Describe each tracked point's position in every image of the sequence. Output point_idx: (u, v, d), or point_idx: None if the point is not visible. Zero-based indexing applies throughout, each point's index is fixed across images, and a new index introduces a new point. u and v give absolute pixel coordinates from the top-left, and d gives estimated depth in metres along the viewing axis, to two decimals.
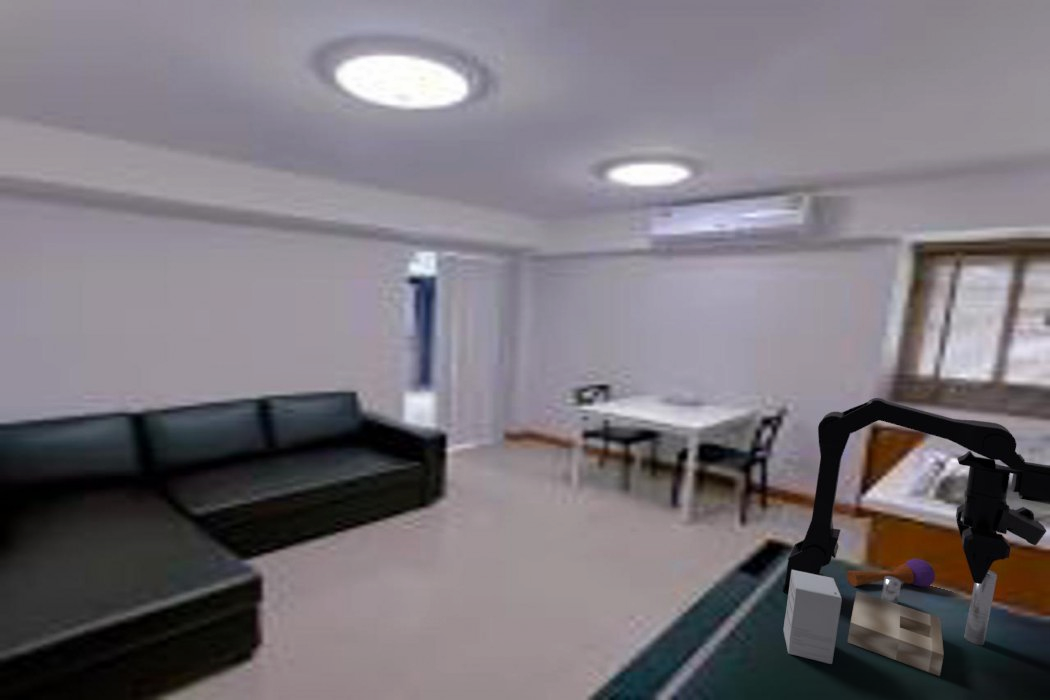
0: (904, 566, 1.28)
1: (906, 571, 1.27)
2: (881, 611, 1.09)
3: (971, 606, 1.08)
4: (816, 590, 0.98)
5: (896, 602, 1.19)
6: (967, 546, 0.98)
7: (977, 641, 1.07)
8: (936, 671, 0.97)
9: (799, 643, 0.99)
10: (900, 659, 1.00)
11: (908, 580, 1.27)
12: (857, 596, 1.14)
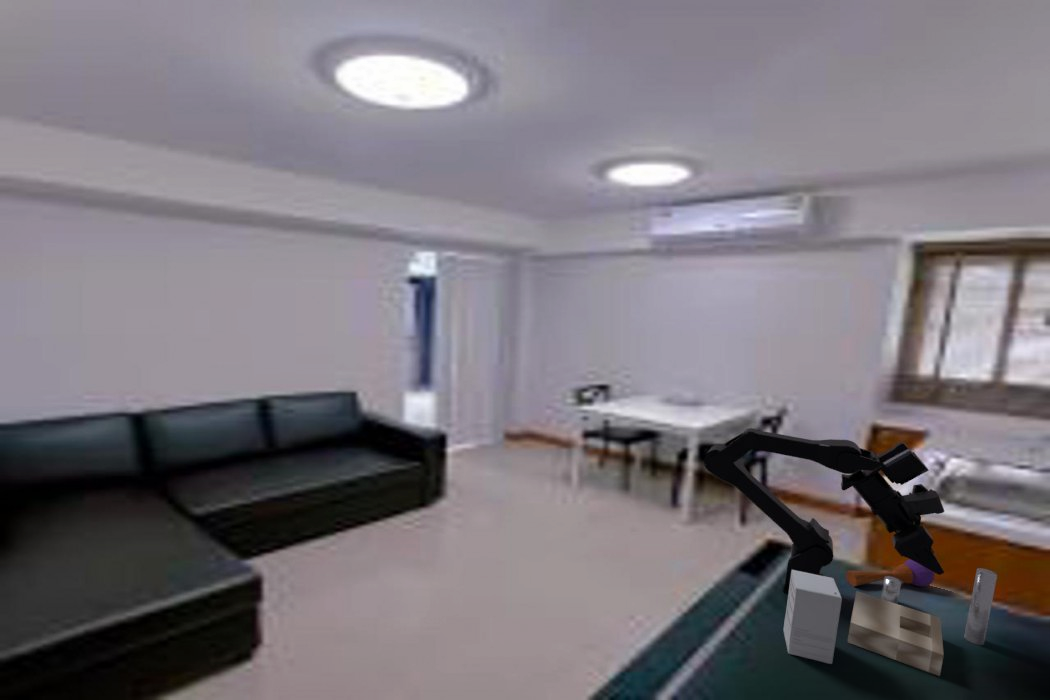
0: (903, 566, 1.28)
1: (905, 571, 1.27)
2: (881, 611, 1.09)
3: (971, 606, 1.08)
4: (816, 590, 0.98)
5: (896, 602, 1.19)
6: (902, 554, 1.05)
7: (977, 641, 1.07)
8: (936, 671, 0.97)
9: (799, 643, 0.99)
10: (900, 659, 1.00)
11: (907, 580, 1.27)
12: (857, 596, 1.14)
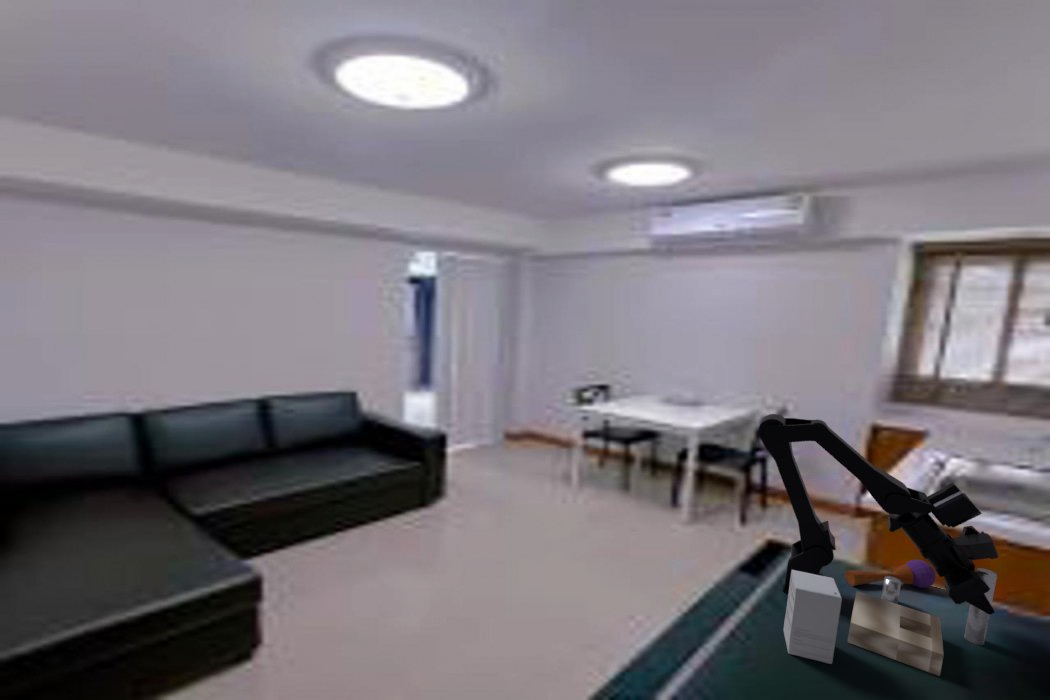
0: (904, 567, 1.28)
1: (906, 571, 1.27)
2: (881, 611, 1.09)
3: (971, 606, 1.08)
4: (816, 590, 0.98)
5: (896, 602, 1.19)
6: (957, 601, 1.02)
7: (977, 641, 1.07)
8: (936, 671, 0.97)
9: (799, 643, 0.99)
10: (900, 659, 1.00)
11: (908, 581, 1.26)
12: (857, 596, 1.14)
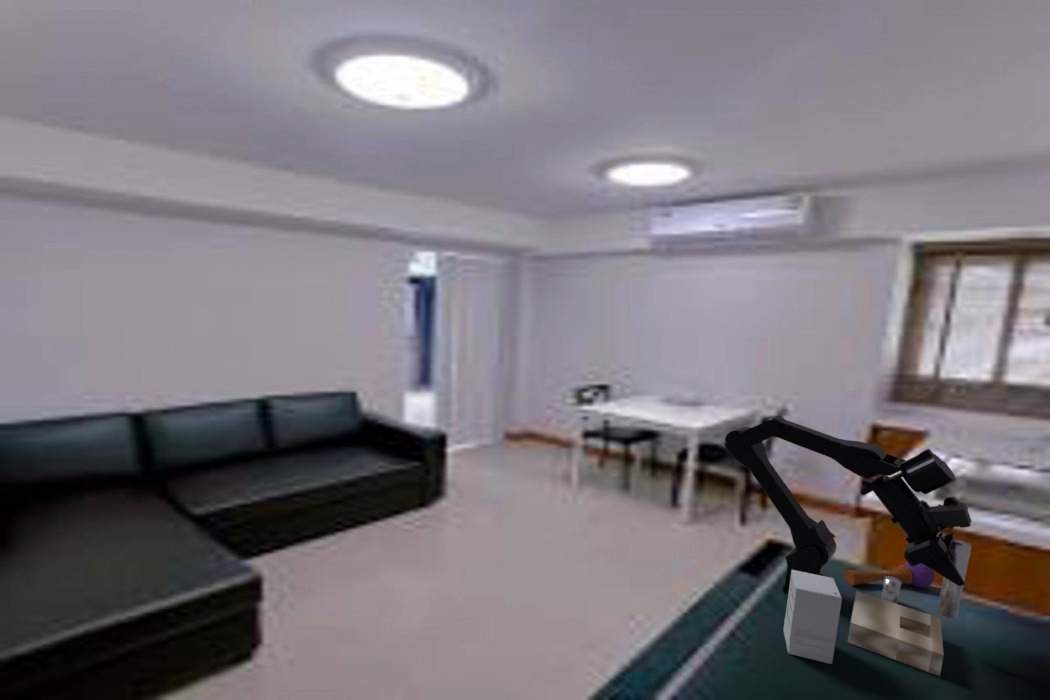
0: (903, 566, 1.28)
1: (905, 571, 1.27)
2: (881, 611, 1.09)
3: None
4: (816, 590, 0.98)
5: (896, 602, 1.19)
6: (911, 563, 1.00)
7: (947, 613, 1.04)
8: (936, 671, 0.97)
9: (799, 643, 0.99)
10: (900, 659, 1.00)
11: (907, 580, 1.26)
12: (857, 596, 1.14)
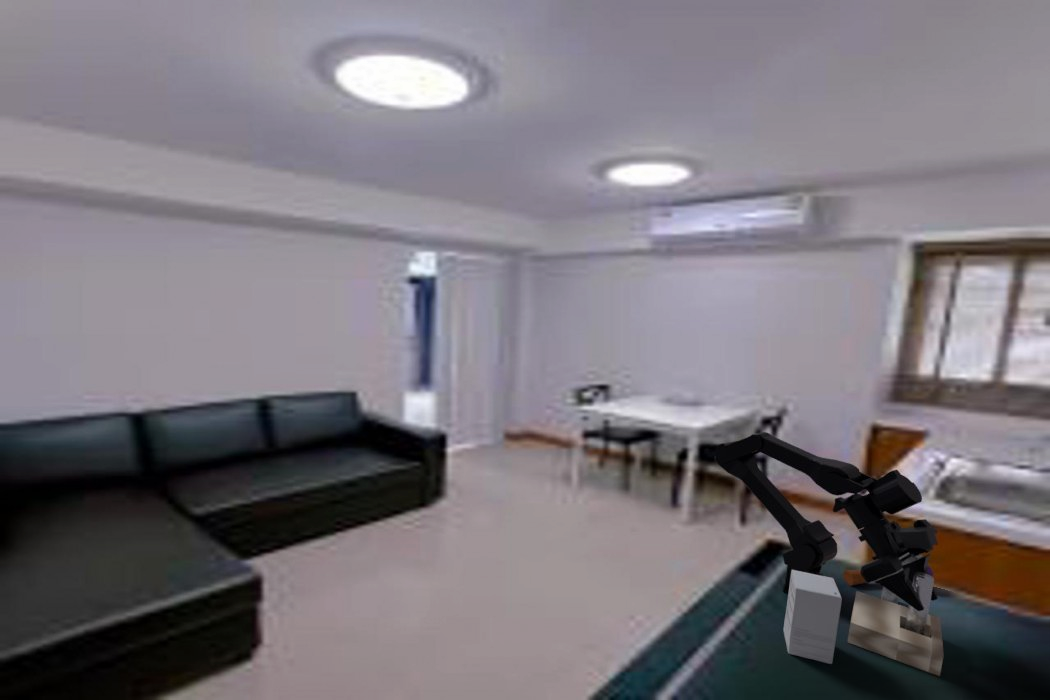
0: None
1: None
2: (881, 611, 1.09)
3: (908, 609, 1.05)
4: (816, 590, 0.98)
5: (896, 602, 1.19)
6: (866, 580, 1.03)
7: None
8: (936, 671, 0.97)
9: (799, 643, 0.99)
10: (900, 659, 1.00)
11: None
12: (857, 596, 1.14)
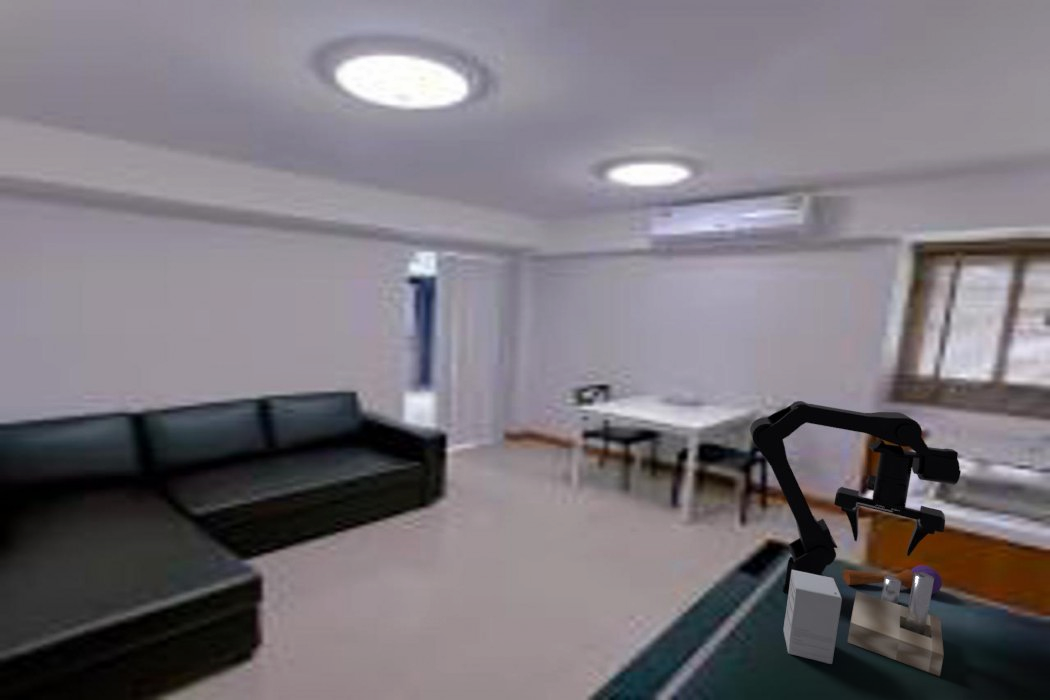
0: (907, 571, 1.26)
1: (908, 576, 1.25)
2: (881, 611, 1.09)
3: None
4: (816, 590, 0.98)
5: (896, 602, 1.19)
6: (943, 529, 1.08)
7: None
8: (936, 671, 0.97)
9: (799, 643, 0.99)
10: (900, 659, 1.00)
11: (910, 585, 1.24)
12: (857, 596, 1.14)
